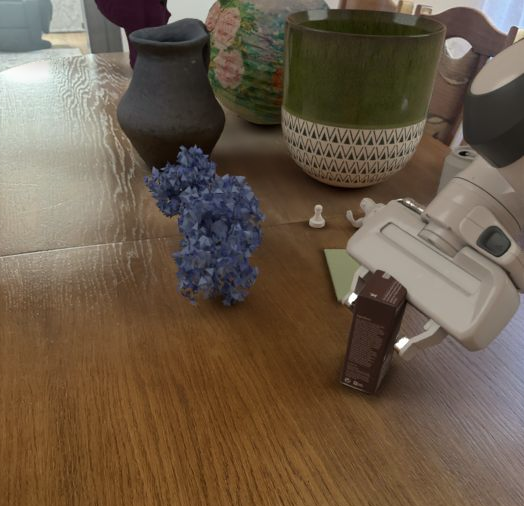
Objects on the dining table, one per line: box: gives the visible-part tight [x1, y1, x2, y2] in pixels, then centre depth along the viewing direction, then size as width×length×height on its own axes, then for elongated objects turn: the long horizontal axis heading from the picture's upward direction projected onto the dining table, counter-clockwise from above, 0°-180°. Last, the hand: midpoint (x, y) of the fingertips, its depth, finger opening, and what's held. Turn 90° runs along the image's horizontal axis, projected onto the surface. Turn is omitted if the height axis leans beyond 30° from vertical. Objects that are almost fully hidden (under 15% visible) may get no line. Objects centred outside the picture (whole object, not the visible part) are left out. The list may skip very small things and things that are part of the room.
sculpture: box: [93, 0, 172, 71], centre depth 160 cm, size 18×22×30 cm
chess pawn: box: [308, 204, 326, 229], centre depth 93 cm, size 3×3×4 cm
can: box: [435, 145, 477, 197], centre depth 93 cm, size 8×8×12 cm
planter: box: [281, 8, 448, 189], centre depth 101 cm, size 27×27×27 cm
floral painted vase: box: [204, 0, 331, 125], centre depth 127 cm, size 32×33×30 cm
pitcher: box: [116, 17, 227, 174], centre depth 105 cm, size 21×22×25 cm
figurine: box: [345, 197, 387, 229], centre depth 91 cm, size 6×6×12 cm
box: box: [339, 270, 408, 396], centre depth 60 cm, size 6×4×12 cm
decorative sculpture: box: [143, 144, 266, 307], centre depth 78 cm, size 14×15×30 cm
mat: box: [323, 248, 360, 303], centre depth 82 cm, size 18×14×1 cm
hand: (372, 330), depth 60 cm, fingers open, 8 cm apart
